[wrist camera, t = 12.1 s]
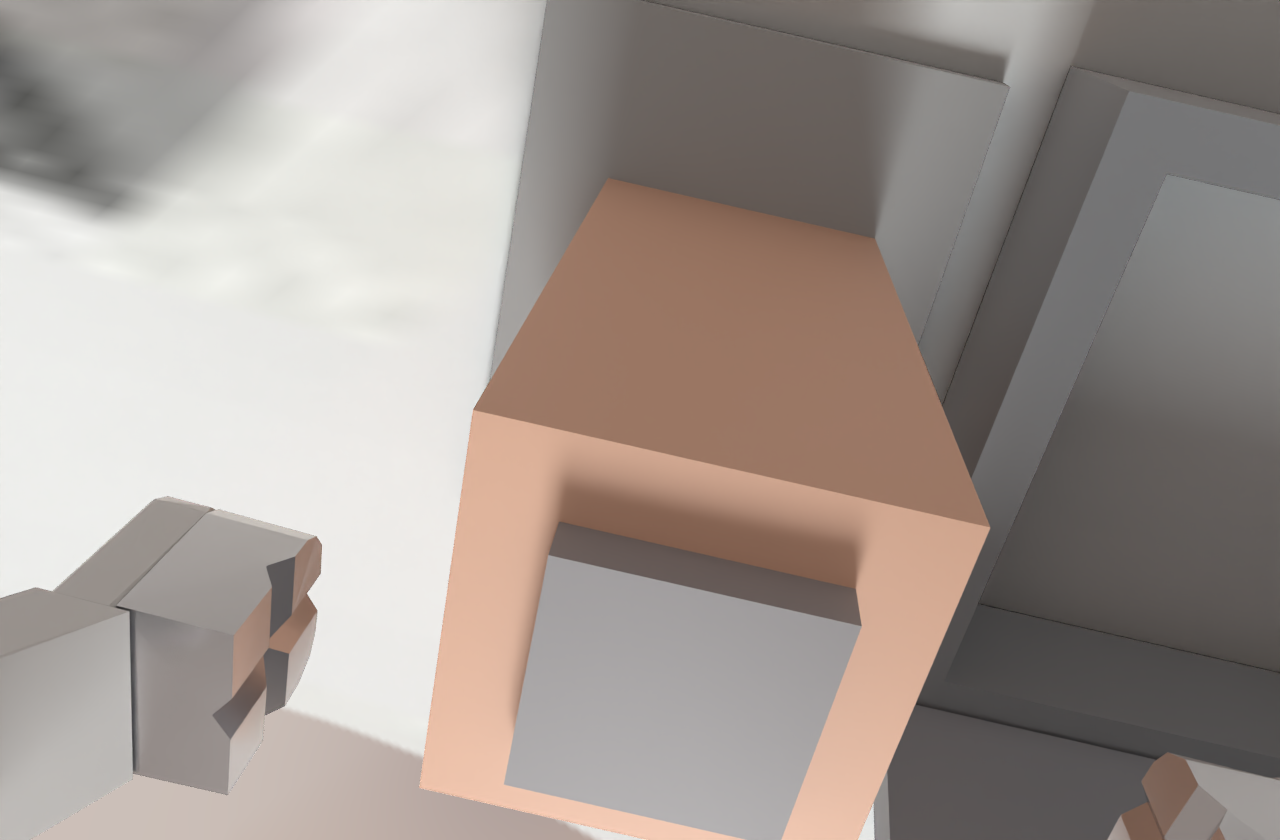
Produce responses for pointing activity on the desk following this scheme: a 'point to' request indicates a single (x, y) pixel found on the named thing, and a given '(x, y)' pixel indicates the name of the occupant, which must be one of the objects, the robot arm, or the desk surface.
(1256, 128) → the case
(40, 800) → the robot arm
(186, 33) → the desk surface
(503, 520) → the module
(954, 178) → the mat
